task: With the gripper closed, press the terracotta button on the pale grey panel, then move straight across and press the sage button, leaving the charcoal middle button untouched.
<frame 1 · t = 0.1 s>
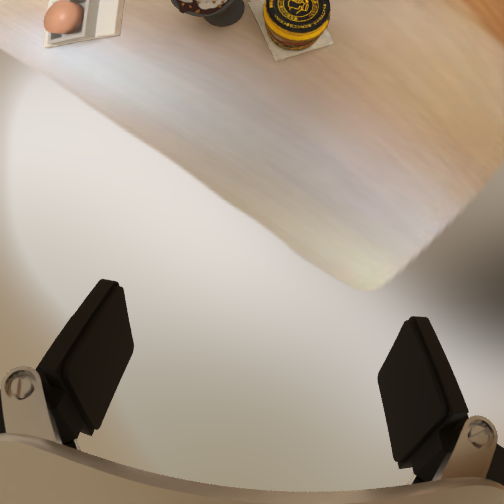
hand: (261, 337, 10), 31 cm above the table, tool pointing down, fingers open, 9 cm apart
condiment: (291, 21, 30), on the table
terracotta button: (64, 17, 25), point 5 cm above the table, slide at 0.0 cm
sundae: (223, 9, 29), on the table
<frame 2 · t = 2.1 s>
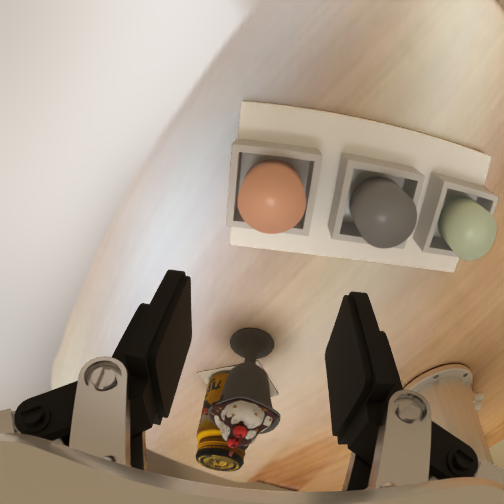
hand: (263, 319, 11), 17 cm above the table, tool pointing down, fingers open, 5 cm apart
charcoal button: (382, 211, 22), point 5 cm above the table, slide at 0.0 cm
sage button: (467, 227, 21), point 5 cm above the table, slide at 0.0 cm
panel: (366, 190, 26), on the table
condiment: (238, 382, 40), on the table
terracotta button: (272, 195, 22), point 5 cm above the table, slide at 0.0 cm
sundae: (251, 342, 35), on the table
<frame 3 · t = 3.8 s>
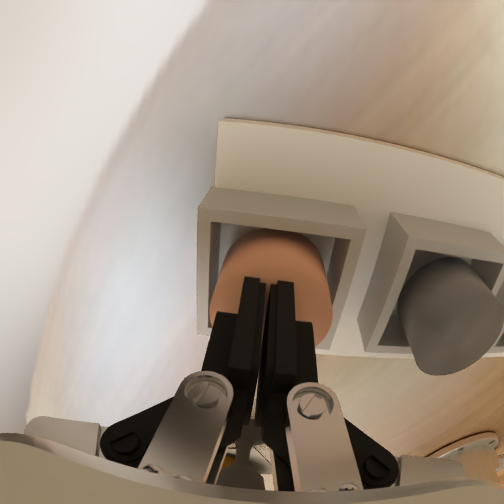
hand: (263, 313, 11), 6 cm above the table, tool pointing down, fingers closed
charcoal button: (449, 317, 12), point 5 cm above the table, slide at 0.0 cm
panel: (416, 262, 16), on the table
condiment: (230, 460, 30), on the table
terracotta button: (272, 294, 13), point 4 cm above the table, slide at -0.4 cm, touching gripper
sundae: (245, 430, 26), on the table
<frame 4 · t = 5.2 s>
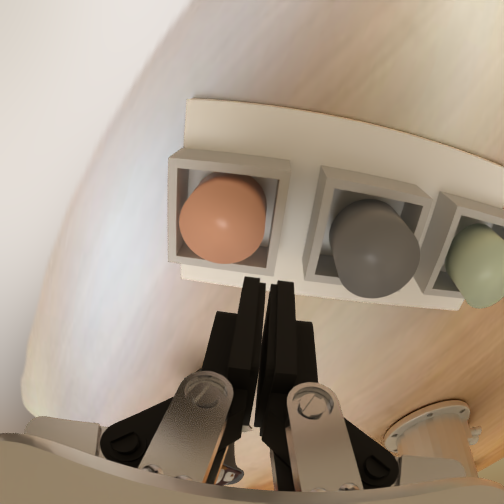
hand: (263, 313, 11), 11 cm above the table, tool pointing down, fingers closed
charcoal button: (372, 247, 16), point 5 cm above the table, slide at 0.0 cm
sage button: (482, 265, 16), point 5 cm above the table, slide at 0.0 cm
panel: (354, 212, 20), on the table
terracotta button: (225, 215, 18), point 3 cm above the table, slide at -1.5 cm
sundae: (218, 379, 30), on the table
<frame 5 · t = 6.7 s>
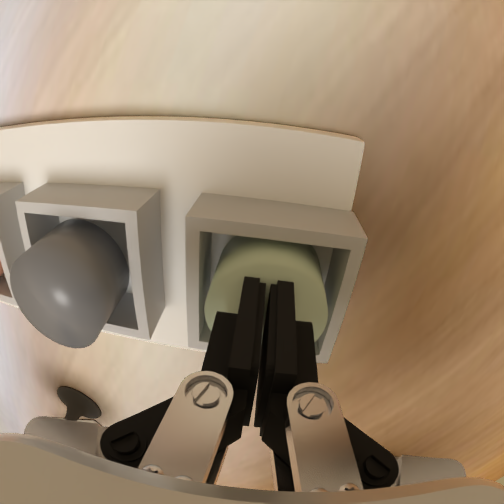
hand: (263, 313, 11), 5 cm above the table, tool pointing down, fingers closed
charcoal button: (69, 283, 12), point 5 cm above the table, slide at 0.0 cm
sage button: (267, 292, 13), point 3 cm above the table, slide at -1.4 cm, touching gripper
panel: (116, 232, 16), on the table
sundae: (79, 400, 25), on the table
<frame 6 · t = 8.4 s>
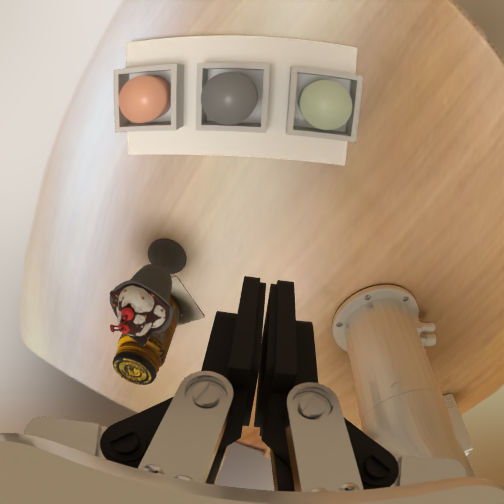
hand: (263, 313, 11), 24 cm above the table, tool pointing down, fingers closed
charcoal button: (230, 97, 24), point 5 cm above the table, slide at 0.0 cm
sage button: (324, 103, 25), point 3 cm above the table, slide at -1.5 cm
skincare box: (433, 402, 54), on the table
panel: (236, 94, 29), on the table
condiment: (166, 304, 43), on the table
terracotta button: (146, 98, 26), point 3 cm above the table, slide at -1.5 cm
sundae: (167, 255, 39), on the table
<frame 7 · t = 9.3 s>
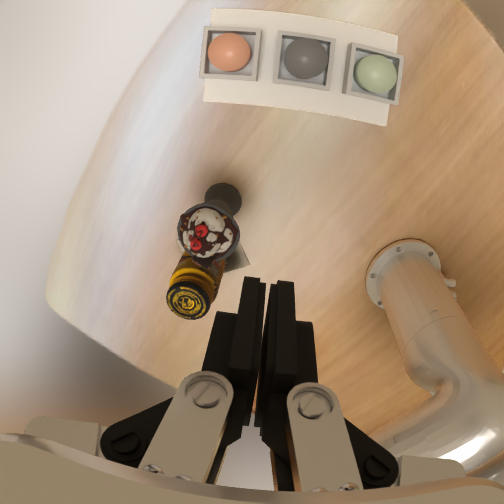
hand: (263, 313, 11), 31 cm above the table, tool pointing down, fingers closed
charcoal button: (305, 59, 29), point 5 cm above the table, slide at 0.0 cm
sage button: (374, 74, 30), point 3 cm above the table, slide at -1.5 cm
panel: (301, 62, 33), on the table
condiment: (213, 251, 46), on the table
terracotta button: (230, 53, 30), point 3 cm above the table, slide at -1.5 cm
sundae: (222, 200, 42), on the table
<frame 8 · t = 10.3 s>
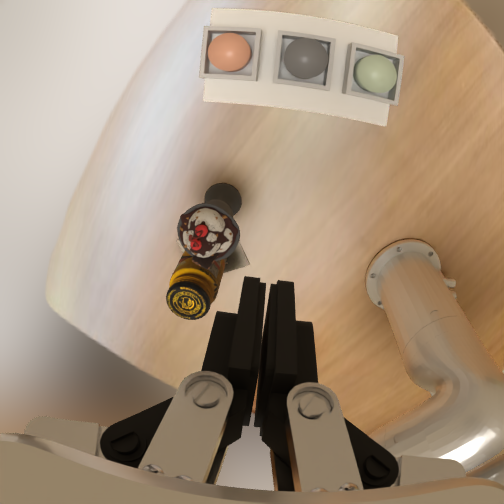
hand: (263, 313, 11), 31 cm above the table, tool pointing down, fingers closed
charcoal button: (305, 59, 29), point 5 cm above the table, slide at 0.0 cm
sage button: (374, 74, 30), point 3 cm above the table, slide at -1.5 cm
panel: (301, 62, 33), on the table
condiment: (213, 251, 46), on the table
terracotta button: (230, 52, 30), point 3 cm above the table, slide at -1.5 cm
sundae: (222, 200, 42), on the table
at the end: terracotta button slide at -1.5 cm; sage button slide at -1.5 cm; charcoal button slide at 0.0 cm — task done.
